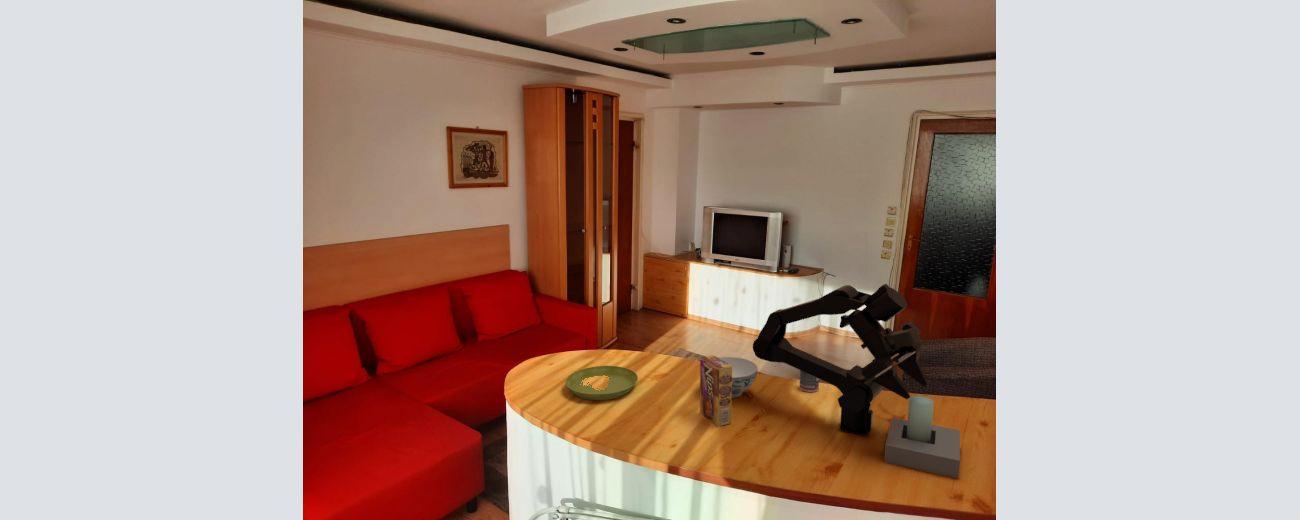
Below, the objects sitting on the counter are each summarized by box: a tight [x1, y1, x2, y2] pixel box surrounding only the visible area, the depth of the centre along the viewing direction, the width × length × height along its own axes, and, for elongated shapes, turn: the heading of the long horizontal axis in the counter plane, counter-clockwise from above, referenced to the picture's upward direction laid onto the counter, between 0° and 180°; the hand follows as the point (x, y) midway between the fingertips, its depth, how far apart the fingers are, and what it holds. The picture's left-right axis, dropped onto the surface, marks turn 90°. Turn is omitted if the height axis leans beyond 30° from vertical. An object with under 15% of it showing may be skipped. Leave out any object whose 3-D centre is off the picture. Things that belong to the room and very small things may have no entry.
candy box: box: [699, 354, 733, 427], centre depth 141 cm, size 9×4×15 cm, turn 26°
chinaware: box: [717, 356, 759, 399], centre depth 156 cm, size 15×15×8 cm
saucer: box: [565, 365, 639, 401], centre depth 161 cm, size 21×21×3 cm
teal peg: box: [906, 395, 935, 444], centre depth 124 cm, size 5×5×12 cm
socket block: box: [883, 417, 961, 479], centre depth 123 cm, size 14×14×4 cm
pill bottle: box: [798, 370, 820, 393], centre depth 158 cm, size 5×5×9 cm
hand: (917, 391), depth 123 cm, fingers open, 9 cm apart
